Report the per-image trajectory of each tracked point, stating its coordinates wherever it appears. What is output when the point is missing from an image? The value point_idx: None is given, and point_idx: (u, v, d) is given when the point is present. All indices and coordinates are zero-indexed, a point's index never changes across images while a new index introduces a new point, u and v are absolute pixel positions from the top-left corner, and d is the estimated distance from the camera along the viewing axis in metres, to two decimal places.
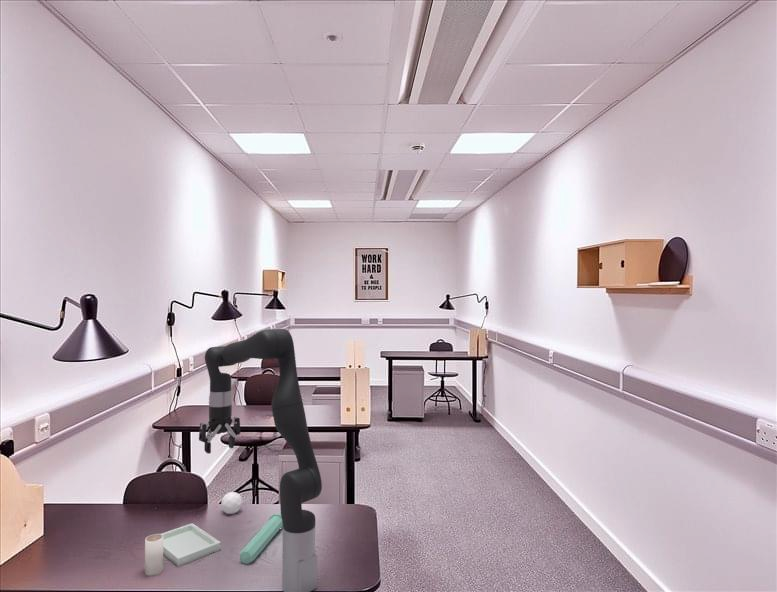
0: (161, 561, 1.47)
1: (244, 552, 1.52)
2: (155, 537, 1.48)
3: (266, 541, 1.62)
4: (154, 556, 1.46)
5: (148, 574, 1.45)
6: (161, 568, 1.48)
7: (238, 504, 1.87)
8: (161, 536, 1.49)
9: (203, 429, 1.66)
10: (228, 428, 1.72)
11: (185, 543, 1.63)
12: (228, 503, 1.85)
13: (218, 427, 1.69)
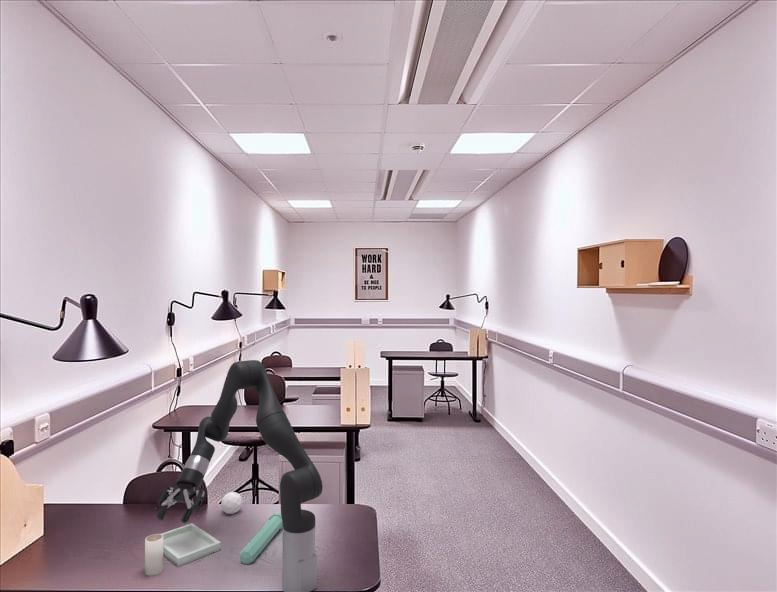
0: (161, 561, 1.47)
1: (244, 552, 1.52)
2: (155, 537, 1.48)
3: (266, 541, 1.62)
4: (154, 556, 1.46)
5: (148, 574, 1.45)
6: (161, 568, 1.48)
7: (238, 504, 1.87)
8: (161, 536, 1.49)
9: (164, 490, 1.62)
10: (185, 495, 1.59)
11: (185, 543, 1.63)
12: (228, 503, 1.85)
13: (176, 491, 1.61)
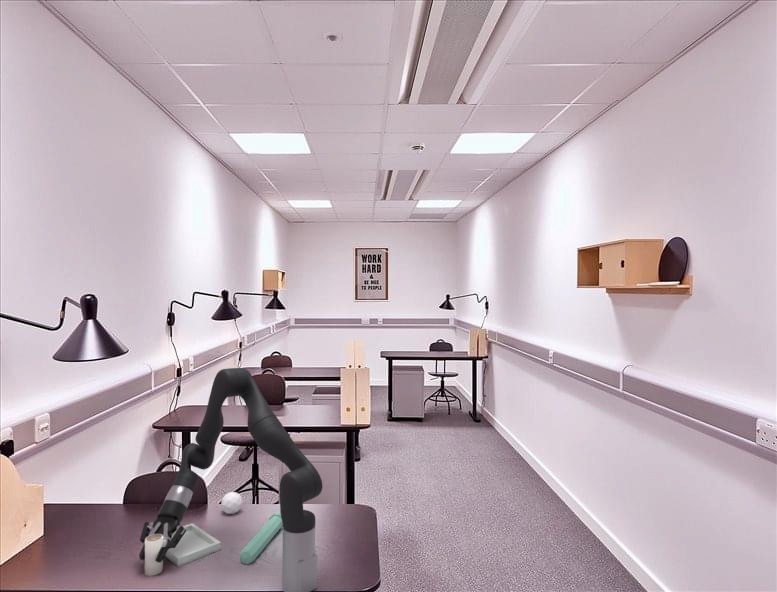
0: (161, 561, 1.47)
1: (244, 552, 1.52)
2: (155, 537, 1.48)
3: (266, 541, 1.62)
4: (153, 556, 1.46)
5: (148, 574, 1.45)
6: (161, 568, 1.48)
7: (238, 504, 1.87)
8: (161, 536, 1.49)
9: (144, 527, 1.53)
10: (165, 530, 1.50)
11: (185, 543, 1.63)
12: (228, 503, 1.85)
13: (157, 525, 1.52)
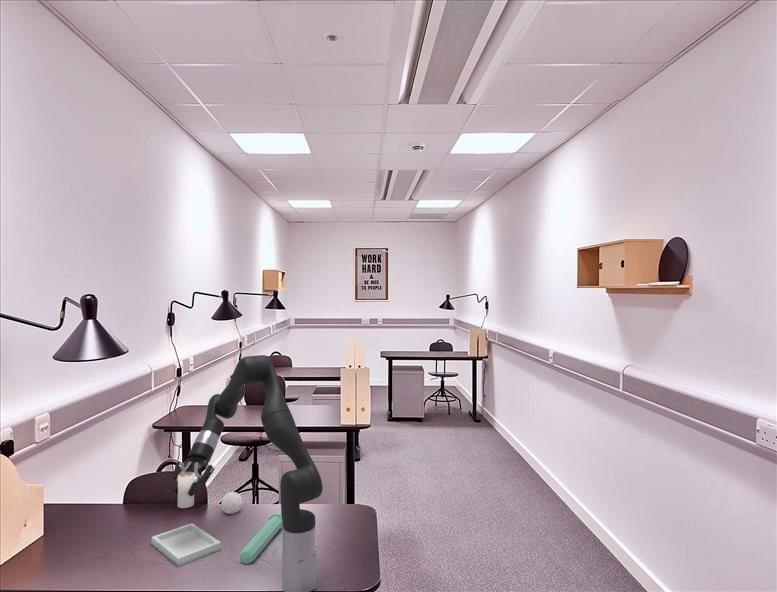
0: None
1: (244, 552, 1.52)
2: (187, 474, 1.63)
3: (266, 541, 1.62)
4: (186, 490, 1.60)
5: (181, 506, 1.60)
6: (192, 502, 1.62)
7: (238, 504, 1.87)
8: (192, 473, 1.63)
9: (176, 466, 1.67)
10: (195, 468, 1.64)
11: (185, 543, 1.63)
12: (228, 503, 1.85)
13: (188, 464, 1.66)
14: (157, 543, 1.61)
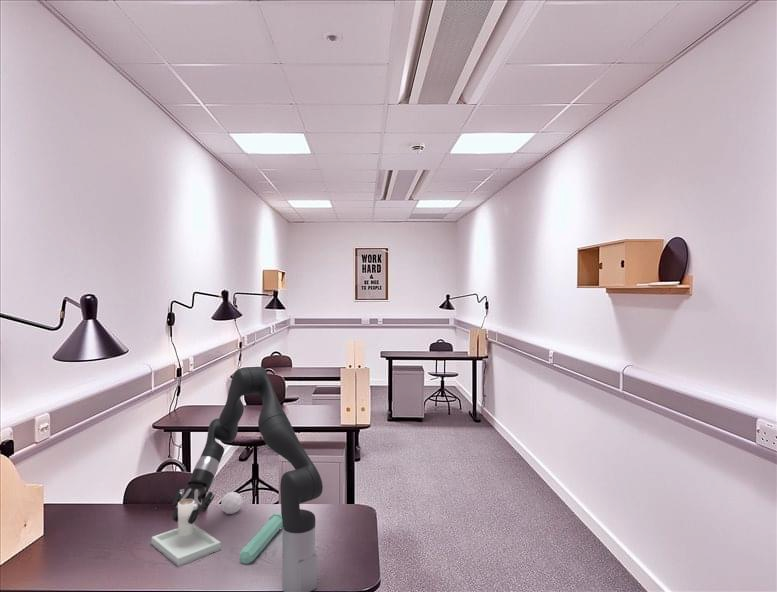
0: None
1: (244, 552, 1.52)
2: (187, 501, 1.63)
3: (266, 541, 1.62)
4: (186, 518, 1.60)
5: (181, 534, 1.60)
6: (192, 529, 1.62)
7: (238, 504, 1.87)
8: (192, 500, 1.63)
9: (176, 493, 1.67)
10: (195, 496, 1.65)
11: (185, 543, 1.63)
12: (228, 503, 1.85)
13: (188, 491, 1.66)
14: (157, 543, 1.61)
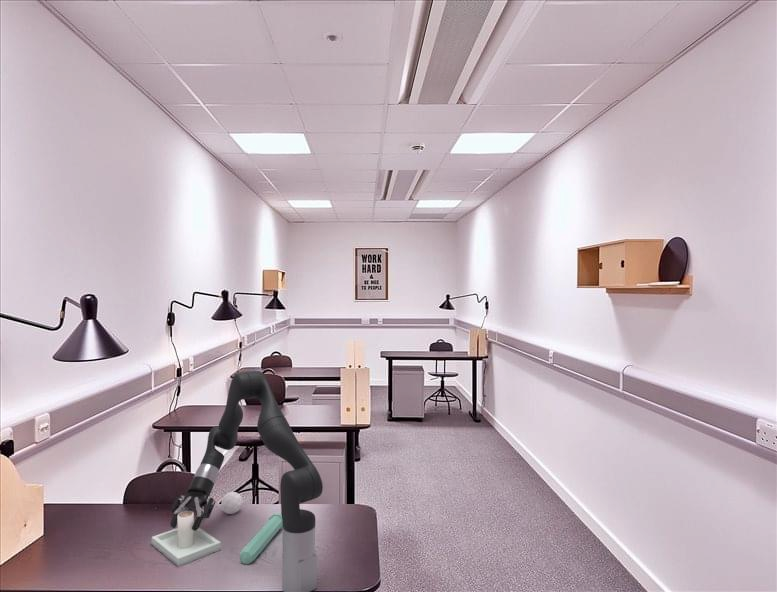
0: (192, 535, 1.62)
1: (244, 552, 1.52)
2: (186, 513, 1.63)
3: (266, 541, 1.62)
4: (186, 530, 1.60)
5: (181, 547, 1.60)
6: (192, 541, 1.62)
7: (238, 504, 1.87)
8: (192, 513, 1.63)
9: (176, 498, 1.68)
10: (196, 503, 1.65)
11: None
12: (228, 503, 1.85)
13: (188, 498, 1.66)
14: (157, 543, 1.61)
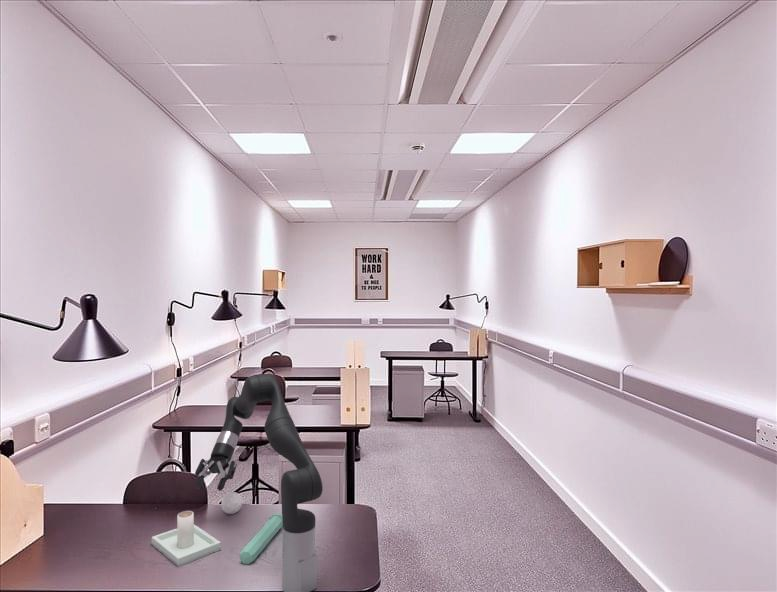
0: (192, 535, 1.62)
1: (244, 552, 1.52)
2: (186, 513, 1.63)
3: (266, 541, 1.62)
4: (186, 530, 1.60)
5: (181, 547, 1.60)
6: (192, 541, 1.62)
7: (238, 504, 1.87)
8: (191, 513, 1.63)
9: (200, 463, 1.80)
10: (219, 466, 1.77)
11: None
12: (228, 503, 1.85)
13: (211, 463, 1.79)
14: (157, 543, 1.61)
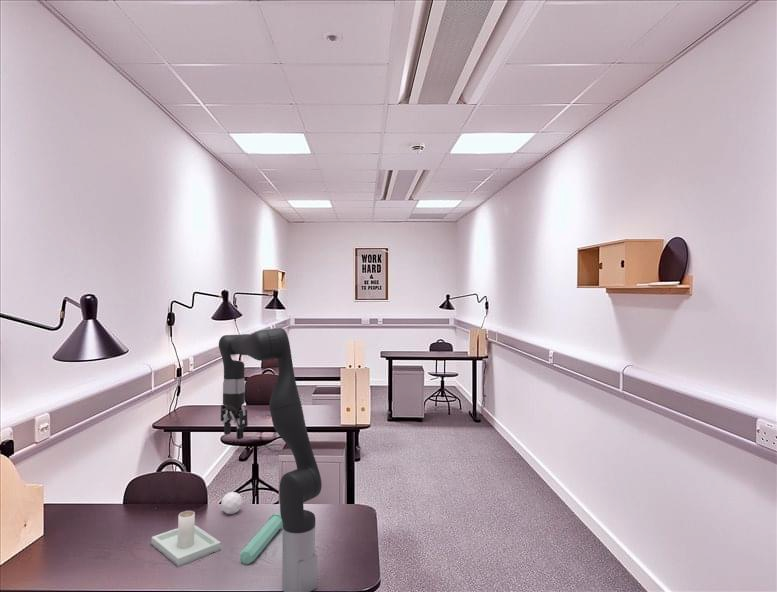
0: (193, 535, 1.62)
1: (244, 552, 1.52)
2: (187, 513, 1.63)
3: (266, 541, 1.62)
4: (187, 530, 1.60)
5: (181, 547, 1.60)
6: (192, 541, 1.62)
7: (238, 504, 1.87)
8: (193, 512, 1.63)
9: (221, 409, 1.79)
10: (232, 417, 1.72)
11: None
12: (228, 503, 1.85)
13: (226, 412, 1.75)
14: (157, 543, 1.61)
